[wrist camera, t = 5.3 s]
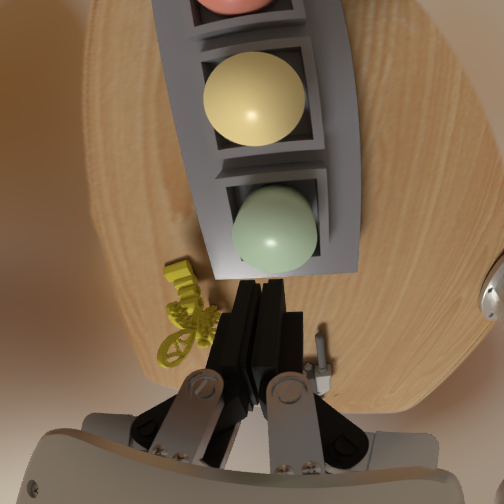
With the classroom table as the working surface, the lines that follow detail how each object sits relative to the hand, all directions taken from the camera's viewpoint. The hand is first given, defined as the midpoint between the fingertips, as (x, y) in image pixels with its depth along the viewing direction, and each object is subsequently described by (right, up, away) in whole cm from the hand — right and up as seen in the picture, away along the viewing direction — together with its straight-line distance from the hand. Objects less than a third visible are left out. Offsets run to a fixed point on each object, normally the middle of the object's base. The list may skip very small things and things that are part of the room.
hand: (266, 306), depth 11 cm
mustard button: (0, +11, +3) cm, 11 cm away
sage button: (+1, +4, +7) cm, 8 cm away
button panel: (0, +13, +7) cm, 15 cm away
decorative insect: (-6, -3, +19) cm, 20 cm away
